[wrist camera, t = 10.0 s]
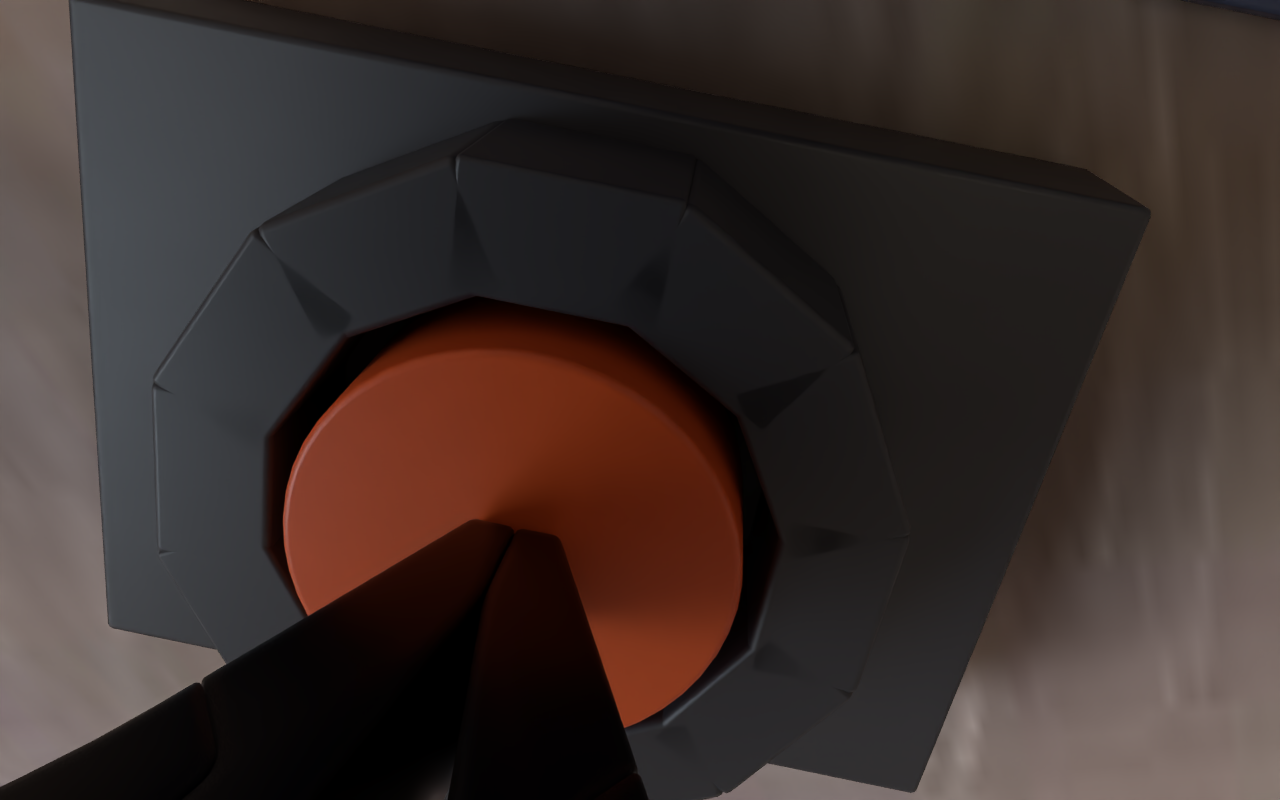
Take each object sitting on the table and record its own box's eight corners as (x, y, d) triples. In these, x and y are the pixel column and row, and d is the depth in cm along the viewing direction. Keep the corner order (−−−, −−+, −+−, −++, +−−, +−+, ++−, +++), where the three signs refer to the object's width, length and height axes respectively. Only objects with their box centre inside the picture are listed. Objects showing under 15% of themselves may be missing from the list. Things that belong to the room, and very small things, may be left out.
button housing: (1091, 169, 12) (1254, 269, 8) (894, 693, 15) (944, 932, 11) (169, -16, 12) (-90, 0, 8) (182, 547, 15) (4, 738, 11)
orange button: (786, 334, 10) (793, 407, 8) (697, 672, 12) (691, 784, 10) (357, 247, 10) (285, 303, 8) (337, 598, 12) (273, 698, 10)
